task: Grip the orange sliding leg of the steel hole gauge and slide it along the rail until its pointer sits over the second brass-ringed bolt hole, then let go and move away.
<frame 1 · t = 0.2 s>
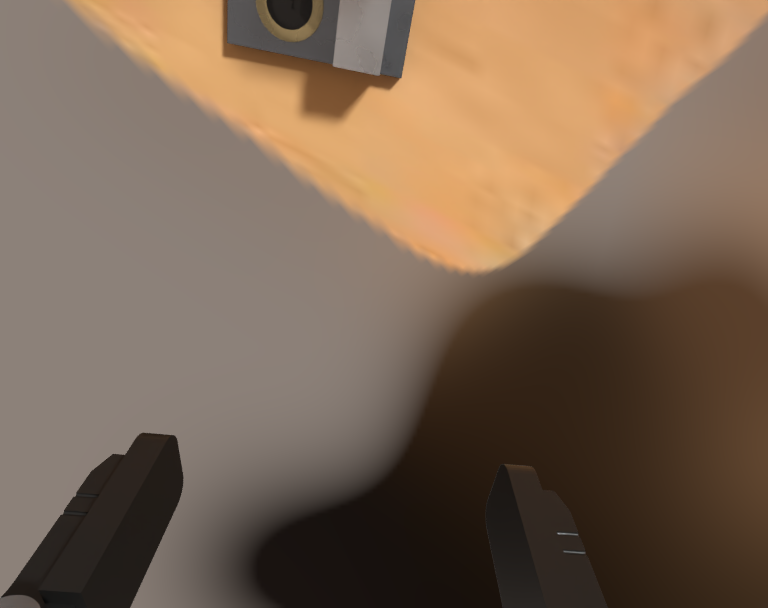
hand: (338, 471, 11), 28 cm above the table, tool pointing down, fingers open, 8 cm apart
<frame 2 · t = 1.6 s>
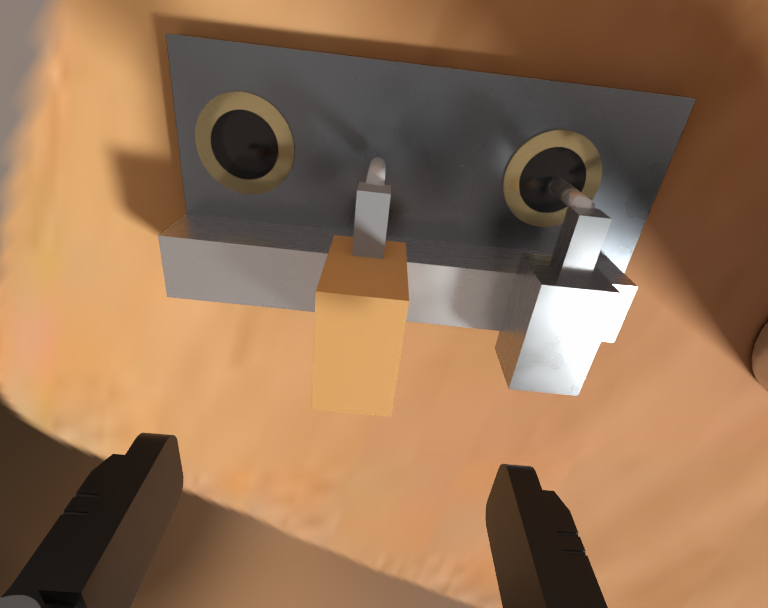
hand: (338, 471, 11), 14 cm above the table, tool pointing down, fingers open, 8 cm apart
hole gauge: (415, 202, 22), on the table
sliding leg: (365, 276, 18), point 6 cm above the table, slide at 8.0 cm
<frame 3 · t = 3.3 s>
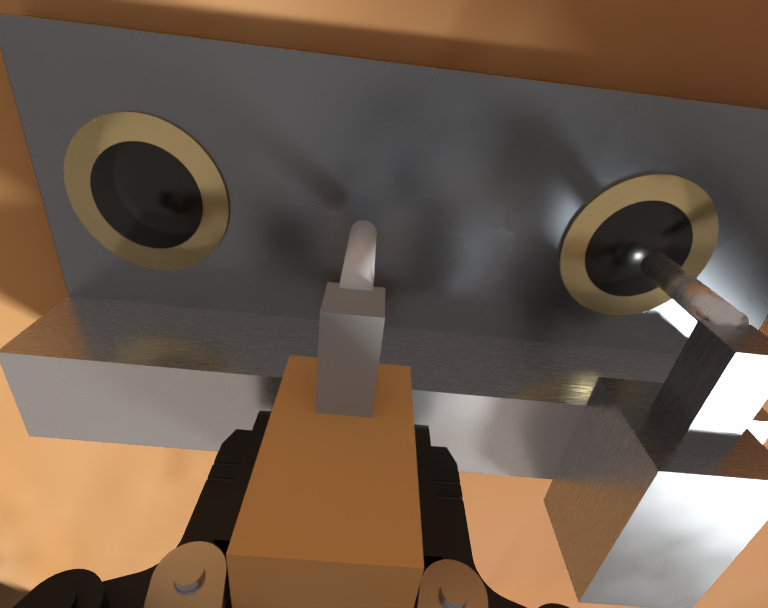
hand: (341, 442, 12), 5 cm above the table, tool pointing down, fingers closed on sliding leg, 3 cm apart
hole gauge: (420, 274, 15), on the table
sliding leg: (342, 432, 10), point 6 cm above the table, slide at 8.0 cm, touching gripper
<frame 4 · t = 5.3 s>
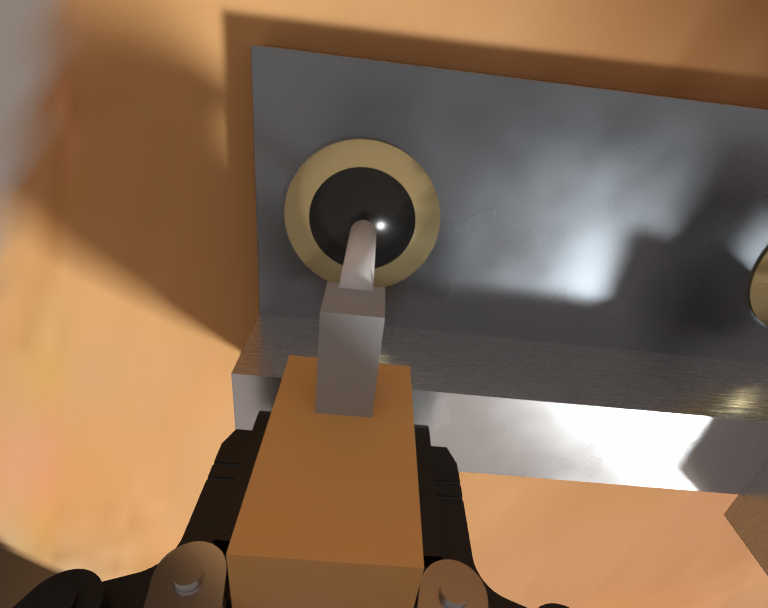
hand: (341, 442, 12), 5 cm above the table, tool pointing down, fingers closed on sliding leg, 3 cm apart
hole gauge: (596, 292, 15), on the table
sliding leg: (342, 432, 10), point 6 cm above the table, slide at 13.9 cm, touching gripper
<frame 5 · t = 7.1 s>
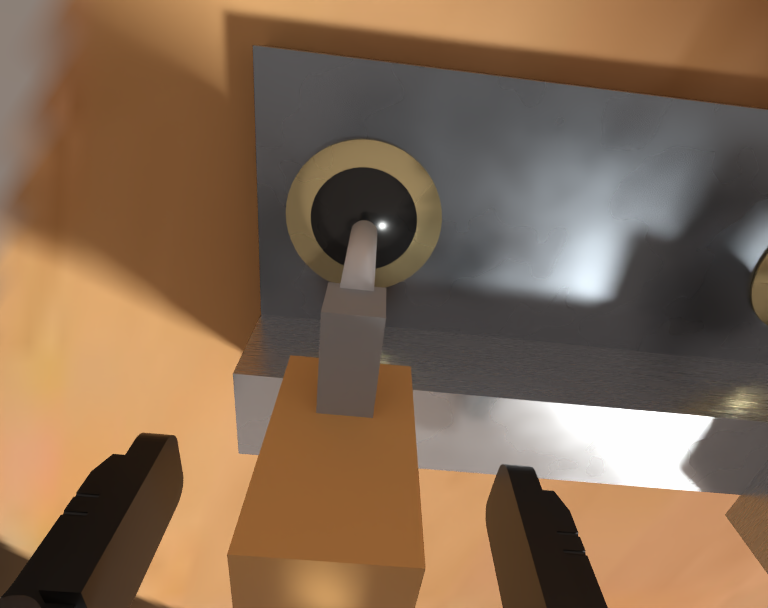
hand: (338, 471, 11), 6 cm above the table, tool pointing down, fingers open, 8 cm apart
hole gauge: (598, 292, 15), on the table
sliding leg: (343, 432, 10), point 6 cm above the table, slide at 14.0 cm
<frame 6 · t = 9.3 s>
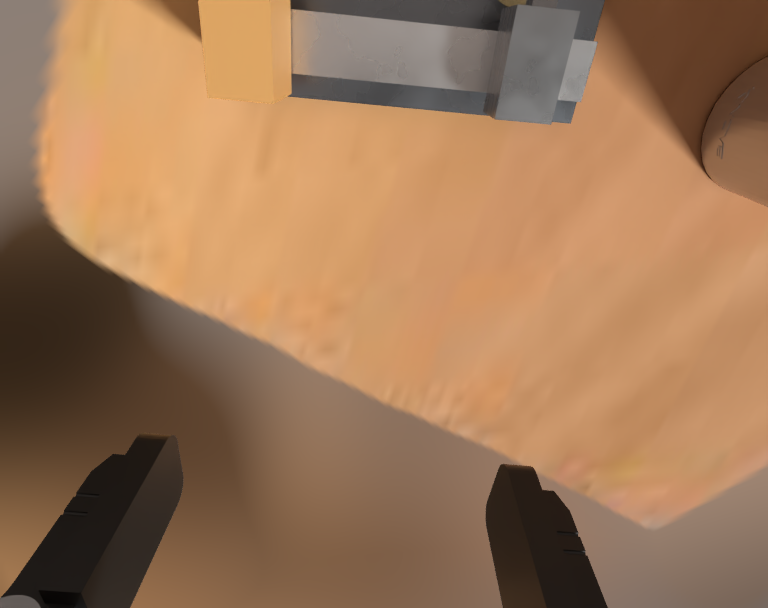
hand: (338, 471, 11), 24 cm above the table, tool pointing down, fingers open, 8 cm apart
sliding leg: (254, 5, 22), point 6 cm above the table, slide at 14.0 cm
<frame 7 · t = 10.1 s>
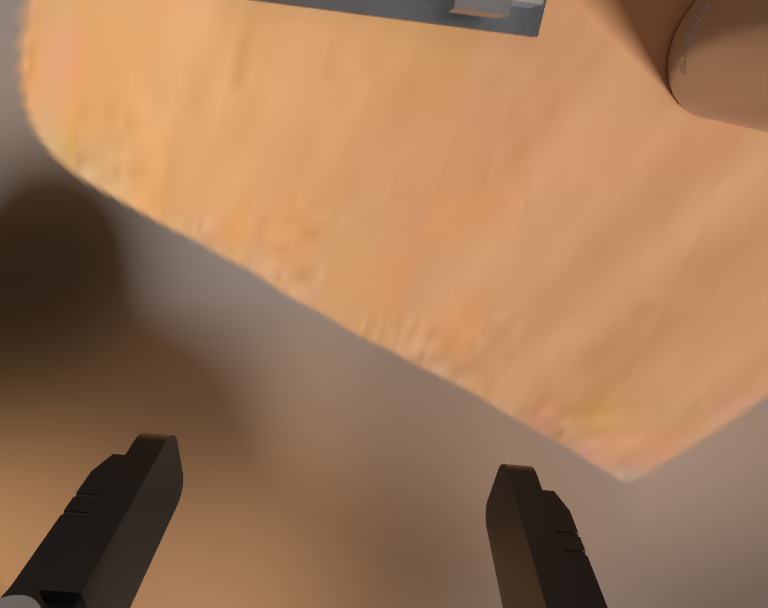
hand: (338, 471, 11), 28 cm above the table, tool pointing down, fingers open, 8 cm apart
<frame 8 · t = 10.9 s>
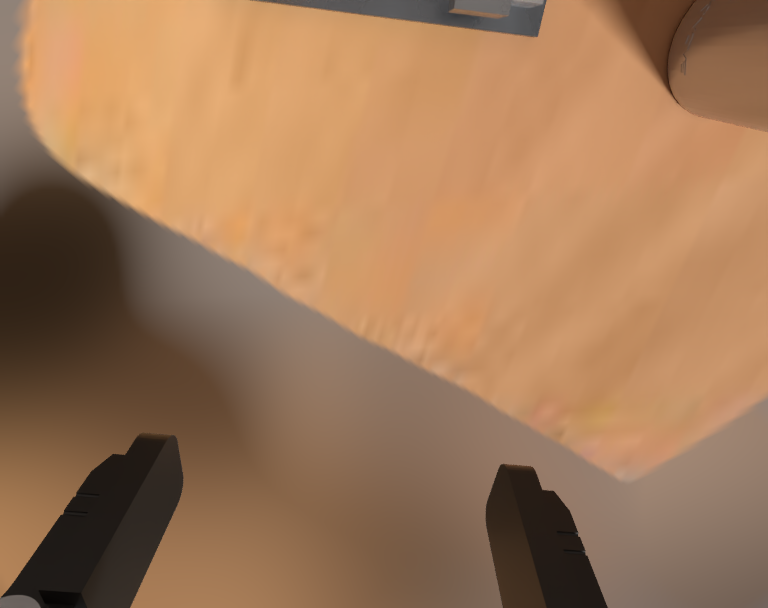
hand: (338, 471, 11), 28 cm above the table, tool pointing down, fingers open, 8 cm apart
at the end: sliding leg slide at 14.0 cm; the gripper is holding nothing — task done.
